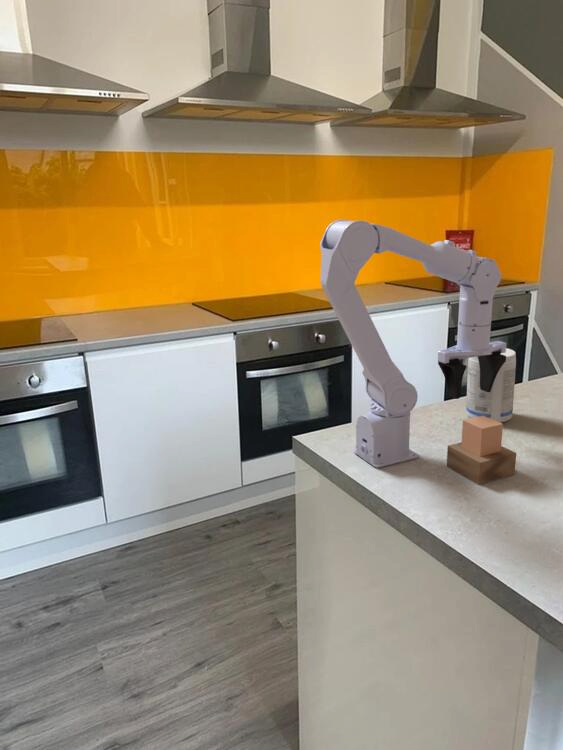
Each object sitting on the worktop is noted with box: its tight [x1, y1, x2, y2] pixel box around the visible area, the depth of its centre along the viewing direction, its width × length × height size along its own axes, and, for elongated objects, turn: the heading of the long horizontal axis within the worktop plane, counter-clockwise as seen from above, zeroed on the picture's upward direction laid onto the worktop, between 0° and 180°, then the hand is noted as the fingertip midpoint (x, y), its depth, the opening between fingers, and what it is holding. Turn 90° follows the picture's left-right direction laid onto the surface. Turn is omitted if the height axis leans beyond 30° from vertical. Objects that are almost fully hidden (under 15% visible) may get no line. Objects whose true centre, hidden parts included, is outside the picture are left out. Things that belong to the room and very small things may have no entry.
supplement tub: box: [465, 347, 517, 423], centre depth 125 cm, size 10×10×15 cm
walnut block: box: [446, 441, 517, 485], centre depth 102 cm, size 8×8×4 cm
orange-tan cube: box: [461, 416, 504, 456], centre depth 101 cm, size 5×5×5 cm
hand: (469, 394), depth 110 cm, fingers open, 7 cm apart
